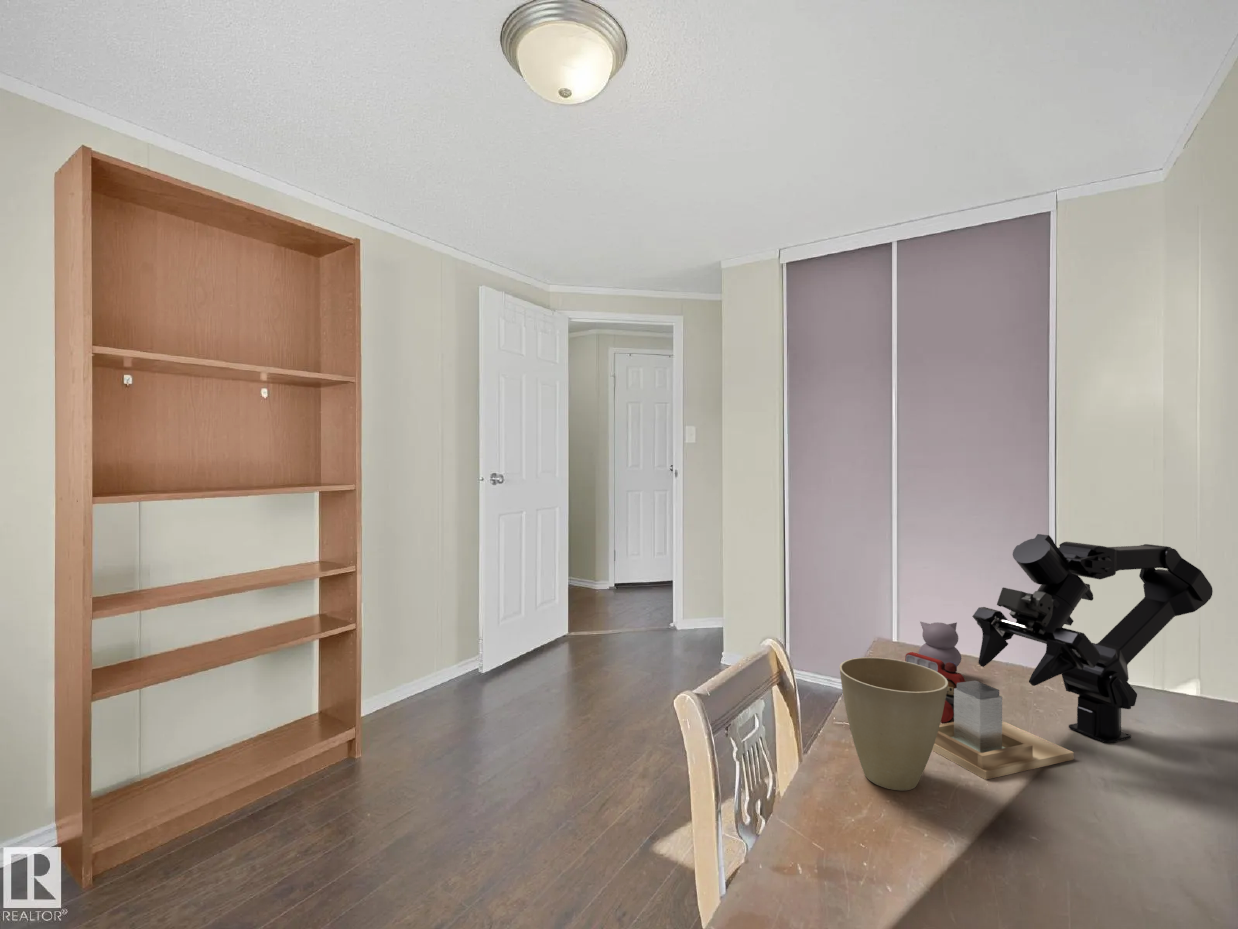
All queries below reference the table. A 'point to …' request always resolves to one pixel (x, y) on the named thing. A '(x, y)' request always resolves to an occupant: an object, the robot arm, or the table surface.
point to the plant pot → (892, 717)
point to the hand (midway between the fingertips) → (1004, 674)
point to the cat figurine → (940, 642)
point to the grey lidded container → (978, 716)
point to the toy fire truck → (945, 670)
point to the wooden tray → (1001, 752)
